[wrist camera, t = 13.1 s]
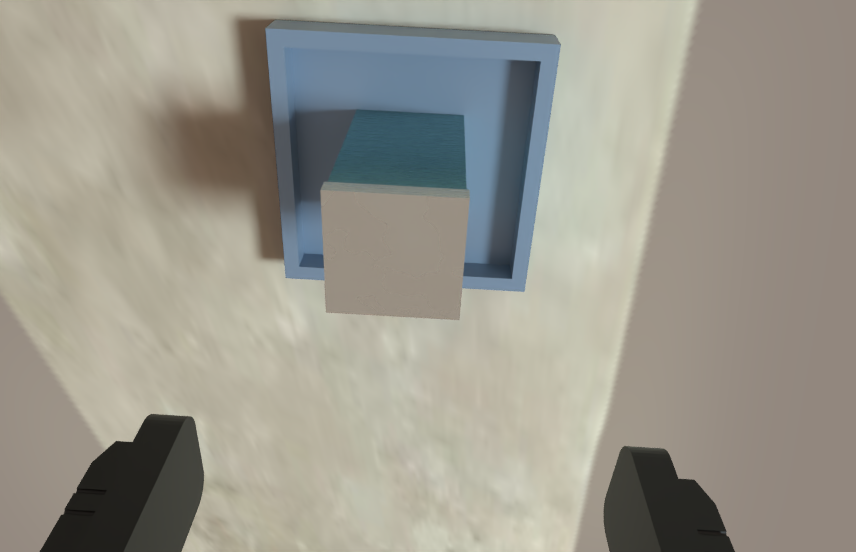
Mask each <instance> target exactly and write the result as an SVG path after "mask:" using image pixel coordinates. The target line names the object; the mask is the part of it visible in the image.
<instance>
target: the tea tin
mask: <svg viewBox="0 0 856 552" xmlns="http://www.w3.org/2000/svg"><path fill="white" fill-rule="evenodd" d="M320 193H321V215H322V236H323V258H324V279H325V301H326V312H328V313H346V314H364V315H381V316H399V317H416V318H434V319H451V320H459V318H460V307H461V295H462V283H463V272H464V260H465V248H466V237H467V225H468V213H469V202H470V192H469V190H467V187H466V157H465V127H464V115H451V114H433V113H415V112H397V111H378V110H360V109H357V110H356V112H355V115H354V117H353V120H352V122H351V125H350V127H349V130H348V132H347V135H346V137H345V140H344V142H343V145H342V147H341V150H340V152H339V155H338V157H337V159H336V162H335V164H334V167H333V169H332V172H331V174H330V177H329V179H328V182H324V183H323V185H322V187H321V190H320Z"/></svg>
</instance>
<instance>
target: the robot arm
mask: <svg viewBox="0 0 856 552" xmlns="http://www.w3.org/2000/svg"><path fill="white" fill-rule="evenodd" d="M203 483H204V471H203V465H202V459H201V453H200V448H199V442H198V437H197V431H196V425H195V421H194V419H193V418H192V417H189V416H174V415H159V414H150V415H149V416H147V417H146V419H145V420H144V422H143V424H142V425H141V427H140V429H139V431H138V433H137V435H136V437H135V439H134V440H133V442H121V441H116V442H115V443H114V444H112V445H111V446H110V447H109V448H108V449H107V450H106V451H104V452H103V453H102V454H101V455H100V456H99V457H98V458H97V459H95V460H94V461H93V462H92V463H91V465H90V467H89V468H88V470H87V472H86V474H85V475H84V477H83V479H82V480H81V482H80V484H79V485H78V487H77V492H76V493H74V494H73V496H72V498H71V499H70V501H69V503H68V504H67V506H66V508H65V512H64V514H63V515H61V516H60V518H59V520H58V521H57V523H56V525H55V527H54V528H53V530H52V532H51V533H50V535H49V537H48V538H47V540H46V542H45V544H44V546H43V547H42V549H41V550H40V552H181V551H182V548H183V546H184V543H185V541H186V538H187V535H188V533H189V530H190V528H191V525H192V522H193V520H194V517H195V514H196V512H197V509H198V506H199V504H200V500H201V496H202V491H203ZM604 527H605V533H606V538H607V542H608V546H609V551H610V552H735V551H734V549H733V546H732V544H731V541H730V539H729V537H728V536H726V529H725V527H724V524H723V522H722V519H721V517H720V514H719V512H718V509H717V507H716V505H715V503H714V502H713V501H712V500H711V499H710V497H709V496H708V495H707V494H706V493H705V492H704V490H703V489H702V488H701V487H700V486H699V485H698V483H697V482H696V481H695V480H688V479H678V477H677V474H676V471H675V468H674V466H673V463H672V460H671V458H670V455H669V453H668V452H667V451H666V450H665V449H660V448H645V447H630V446H624V447H623V448H622V449H621V451H620V454H619V457H618V460H617V463H616V466H615V470H614V472H613V476H612V479H611V482H610V485H609V488H608V491H607V494H606V498H605V503H604Z"/></svg>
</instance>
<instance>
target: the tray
mask: <svg viewBox="0 0 856 552" xmlns="http://www.w3.org/2000/svg"><path fill="white" fill-rule="evenodd" d="M265 30H266V43H267V55H268V67H269V79H270V91H271V104H272V116H273V128H274V140H275V152H276V165H277V177H278V189H279V201H280V213H281V226H282V238H283V250H284V262H285V274H286V278H295V279H312V280H325V279H324V258H323V236H322V215H321V193H320V190H321V187H322V185H323V183H324V182H328V179H329V177H330V174H331V172H332V169H333V167H334V164H335V162H336V159H337V157H338V155H339V152H340V150H341V147H342V145H343V142H344V140H345V137H346V135H347V132H348V130H349V127H350V125H351V122H352V120H353V117H354V115H355V112H356V110H357V109H360V110H378V111H397V112H415V113H433V114H451V115H464V127H465V157H466V187H467V190H469V192H470V202H469V213H468V225H467V237H466V248H465V260H464V272H463V283H462V288H468V289H486V290H503V291H520V292H524V291H525V284H526V277H527V270H528V264H529V257H530V250H531V243H532V237H533V230H534V223H535V216H536V209H537V203H538V196H539V189H540V182H541V175H542V169H543V162H544V155H545V148H546V141H547V135H548V128H549V121H550V114H551V108H552V101H553V94H554V87H555V80H556V74H557V67H558V60H559V53H560V46H561V44H560V42H559V41H558V39H557V37H556V36H555V35H545V34H527V33H509V32H491V31H472V30H454V29H436V28H418V27H400V26H382V25H363V24H345V23H327V22H309V21H291V20H274V21H273V22H272V23H271V24H270V25H269V26H267V27H266V28H265Z"/></svg>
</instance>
